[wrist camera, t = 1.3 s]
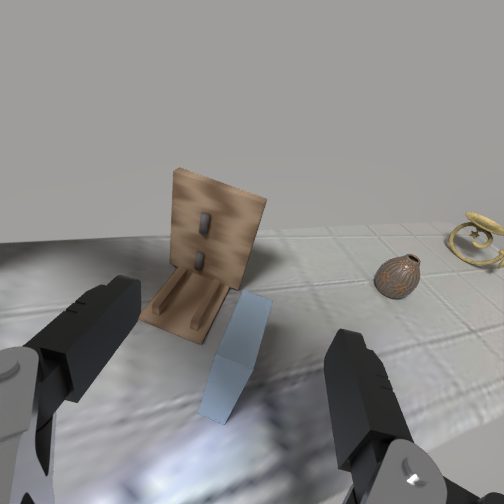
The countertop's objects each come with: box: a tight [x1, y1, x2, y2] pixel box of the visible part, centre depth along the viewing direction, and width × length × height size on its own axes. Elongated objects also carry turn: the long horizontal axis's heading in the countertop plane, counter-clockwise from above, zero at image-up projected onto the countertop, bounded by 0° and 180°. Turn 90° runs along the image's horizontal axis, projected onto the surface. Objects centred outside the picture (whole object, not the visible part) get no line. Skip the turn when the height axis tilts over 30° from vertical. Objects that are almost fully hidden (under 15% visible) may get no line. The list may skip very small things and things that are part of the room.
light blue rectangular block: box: [198, 290, 273, 425], centre depth 25 cm, size 3×7×13 cm, turn 164°
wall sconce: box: [449, 212, 504, 268], centre depth 60 cm, size 14×10×25 cm
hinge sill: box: [139, 168, 267, 345], centre depth 32 cm, size 12×12×17 cm
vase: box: [375, 254, 420, 298], centre depth 48 cm, size 7×7×9 cm
